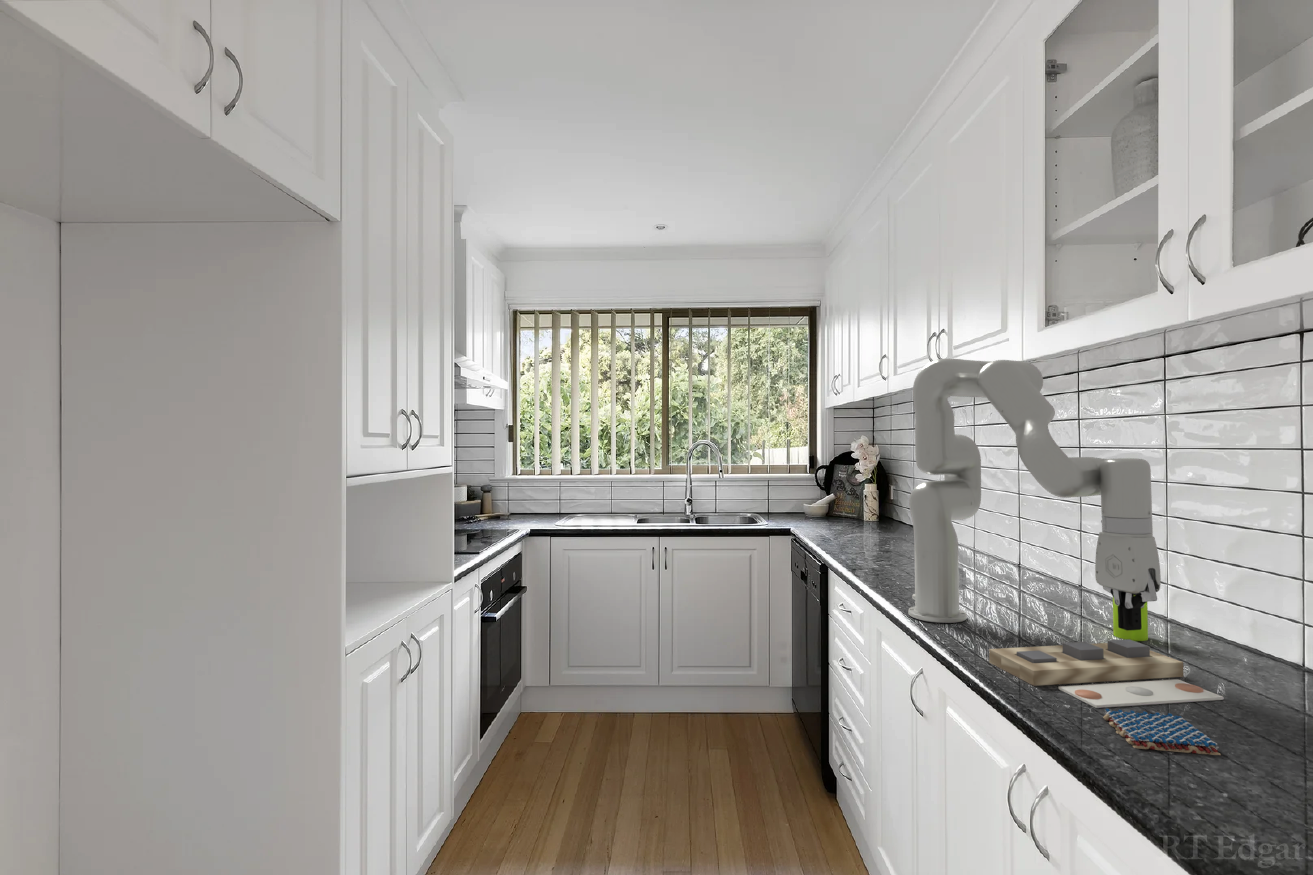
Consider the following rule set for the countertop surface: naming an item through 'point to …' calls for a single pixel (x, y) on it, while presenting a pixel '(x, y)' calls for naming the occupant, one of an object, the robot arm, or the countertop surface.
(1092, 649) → the button
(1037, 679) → the button board
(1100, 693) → the card
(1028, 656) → the button
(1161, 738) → the woven mat
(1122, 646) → the button
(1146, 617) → the soap dispenser
